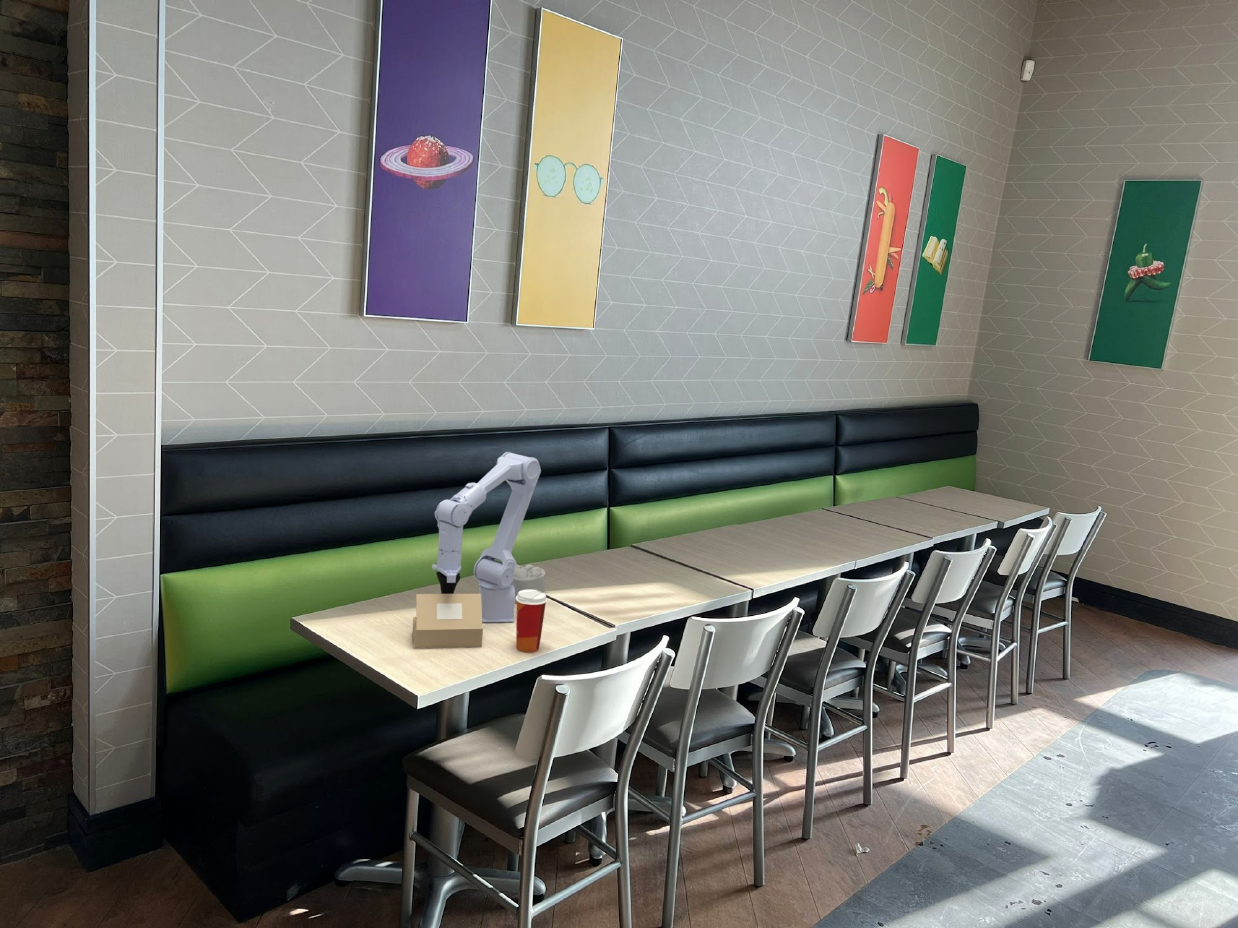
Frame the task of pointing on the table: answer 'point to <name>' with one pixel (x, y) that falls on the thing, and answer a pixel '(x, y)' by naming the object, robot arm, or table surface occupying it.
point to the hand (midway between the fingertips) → (446, 601)
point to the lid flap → (448, 612)
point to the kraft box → (446, 638)
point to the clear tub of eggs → (528, 579)
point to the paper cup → (529, 619)
